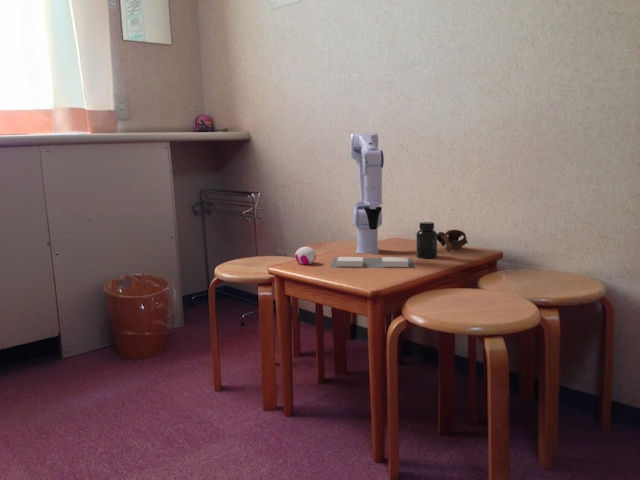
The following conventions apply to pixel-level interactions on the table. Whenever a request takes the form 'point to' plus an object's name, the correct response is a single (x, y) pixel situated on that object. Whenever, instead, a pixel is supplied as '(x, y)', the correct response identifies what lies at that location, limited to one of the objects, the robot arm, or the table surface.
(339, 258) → the tile
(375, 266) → the mat
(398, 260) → the tile
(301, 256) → the stress ball
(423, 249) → the supplement bottle
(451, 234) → the brown curved piece
